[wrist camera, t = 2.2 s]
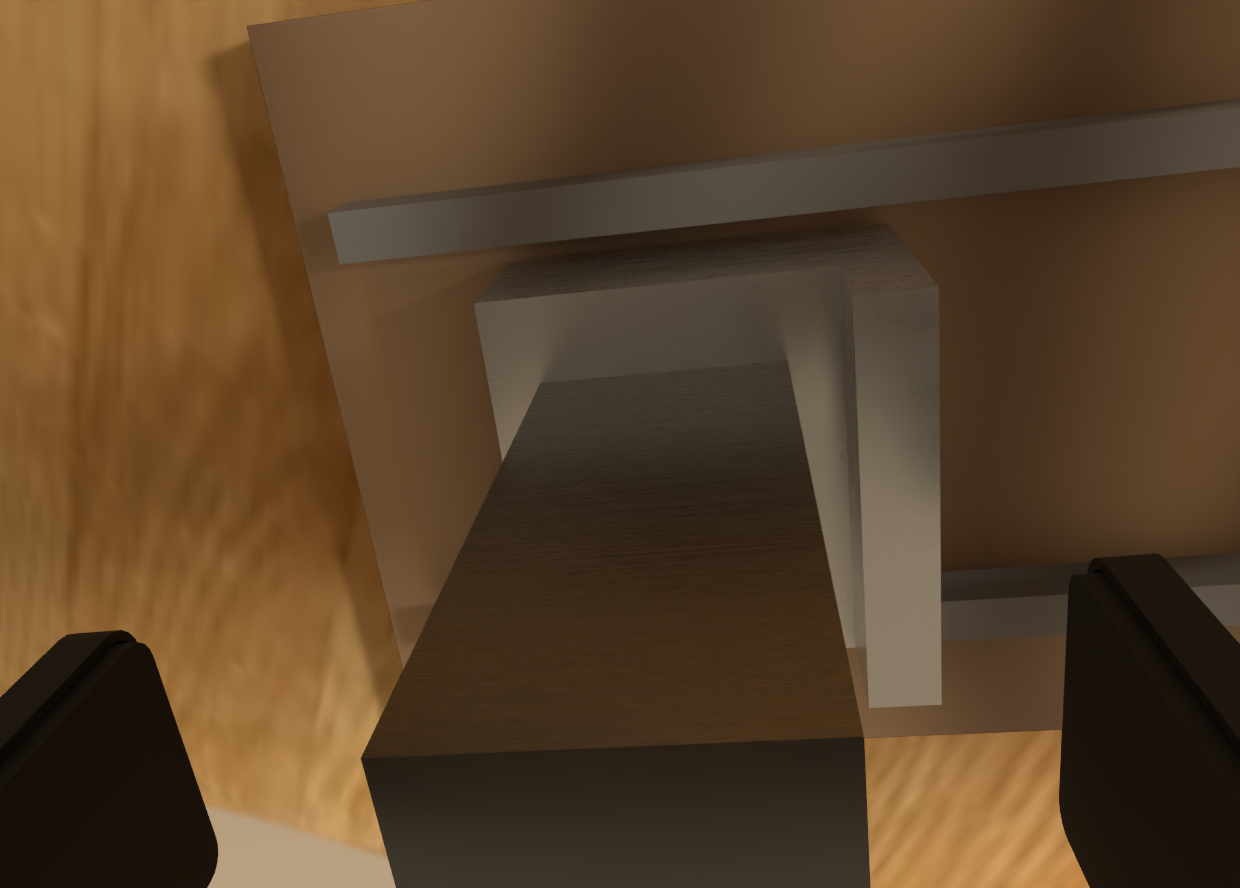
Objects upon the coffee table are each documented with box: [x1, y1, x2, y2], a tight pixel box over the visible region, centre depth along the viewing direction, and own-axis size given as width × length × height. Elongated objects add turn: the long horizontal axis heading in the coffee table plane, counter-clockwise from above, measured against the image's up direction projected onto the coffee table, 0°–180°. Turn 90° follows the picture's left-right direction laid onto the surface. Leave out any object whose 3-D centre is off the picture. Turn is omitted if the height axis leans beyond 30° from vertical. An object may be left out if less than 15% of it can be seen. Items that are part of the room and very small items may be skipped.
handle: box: [361, 223, 942, 888], centre depth 12 cm, size 6×6×10 cm
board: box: [247, 0, 1240, 738], centre depth 15 cm, size 24×14×6 cm, turn 97°
